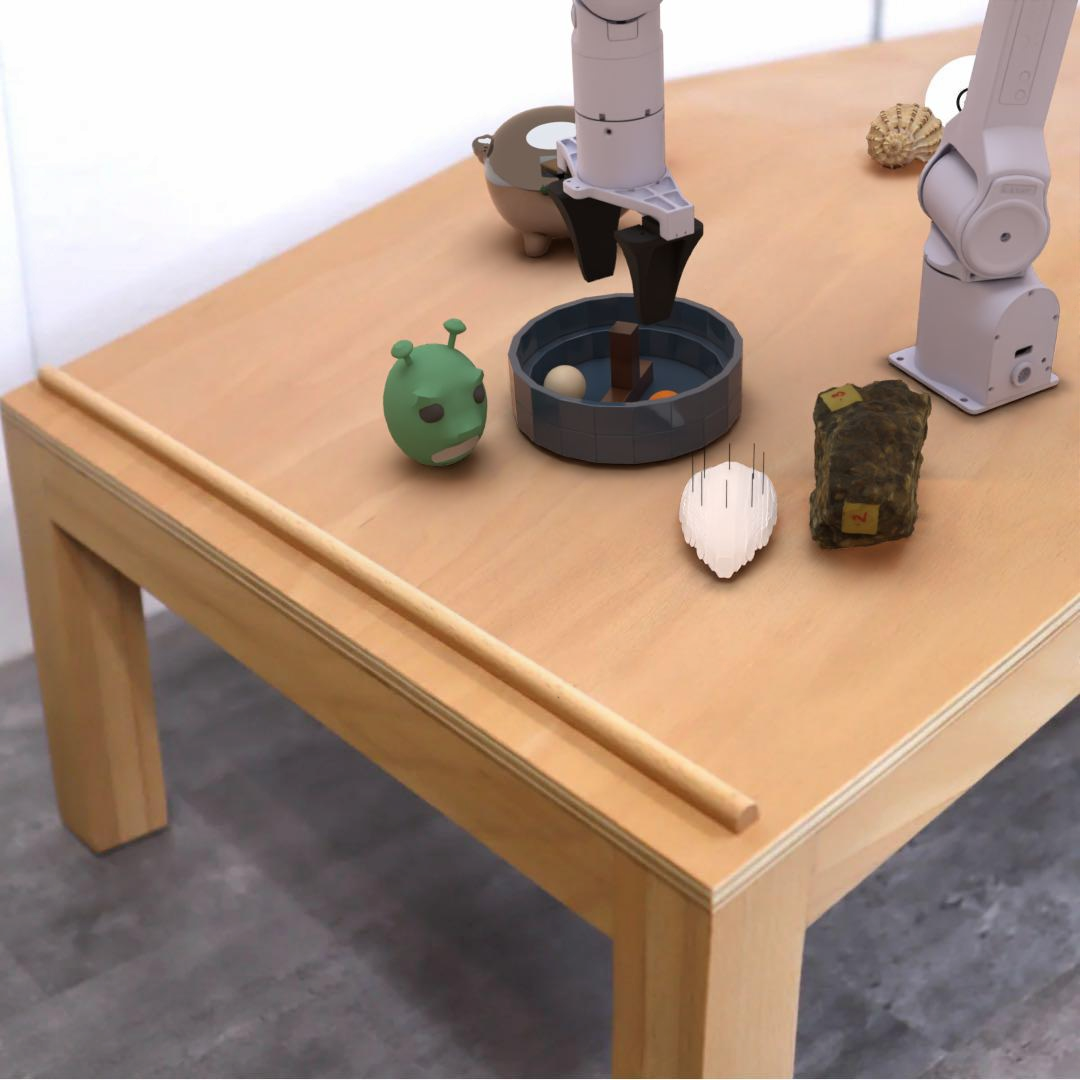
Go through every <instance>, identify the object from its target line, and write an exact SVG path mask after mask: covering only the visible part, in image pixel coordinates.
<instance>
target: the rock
mask: <svg viewBox="0 0 1080 1080" xmlns="http://www.w3.org/2000/svg"><path fill="white" fill-rule="evenodd" d="M932 409H933V400H932V397H931V395H930V394H929V393H918V392H916V391H912V390H911V389H910V387H909V385H908V384H907V383H906V382H905V381H904V380H903V379H883V380H874V381H873V382H871V383H868V384H866V385H864V386H862V387H861V386H858V385H856V384H855V383H851V382H850V383H848V382H847V383H846V384H844V385H841V386H836V387H835V386H832V387H829V388H828V389H826V390H824V391H820V392H819V393H818V394H817V396H816V399H815V403H814V407H813V412H812V420H813V424H814V426H815V428H814V441H813V442H814V443H813V451H814V461H813V462H814V463H813V470H814V478H815V479H814V480H815V483H814V485H815V488H814V489H813V490H812V492H811V493H810V495H809V500H808V501H809V502H808V503H809V511H808V517H809V523H808V525H809V528H810V537H811V540H812V541H814V542H815V543H816V544H817V547H819V549H820V550H821V551H832V550H844V549H850V548H851V549H852V548H868V547H872V546H877V545H881V544H883V543H886V542H897V541H900V540H902V539H908V538H910V537H912V536H913V533H914V531H915V530H916V529H915V526H914V525H915V524H916V522H917V520H918V515H919V514H918V511H919V507H920V505H919V504H918V500H917V497H918V493H917V491H918V486H919V485H918V484H919V479H920V477H921V476H920V475H921V468H922V464H923V463H924V461H925V460H924V459H925V458H924V455H923V453H922V450H923V447H924V445H925V441H927V436H928V431H929V425H928V424H929V423H928V422H929V421H928V419H929V417H930V416H931V414H932Z"/></svg>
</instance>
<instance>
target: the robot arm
mask: <svg viewBox="0 0 1080 1080" xmlns="http://www.w3.org/2000/svg"><path fill="white" fill-rule="evenodd" d="M663 1H664V0H572V5H571V9H570V20H571V24H572V27H573V30H572V33H571V37H570V46H571V47H570V48H571V66H572V85H573V104H574V105H573V106H574V107H575V123H576V136H572V137H568V138H565V139H561V140H557V141H556V147H557V164H558V167H559V168H560V169H562V170H563V171H567V175H566V174H565V175H564V179H561V180H557V181H554V182H551V183H550V184H549V185H548V186H547V192H548V194H549V196H550V197H551V199H552V200H553V202H554V203H555V205H556V206H557V208H558V210H559V212H560V214H561V216H562V218H563V220H564V222H565V224H566V227H567V229H568V232H569V234H570V237H571V238H570V240H571V243H572V246H573V251H574V253H575V257H576V260H577V263H578V266H579V269H580V272H581V275H582V277H583V280H584V281H585V282H587V283H588V284H589V283H593V282H596V281H600V280H603V279H606V278H609V277H613V276H614V274H615V269H616V265H617V254H618V246H619V248H620V250H621V252H622V254H623V256H624V259H625V262H626V265H627V268H628V271H629V275H630V280H631V285H632V293H633V294H634V302H635V308H636V312H637V316H638V319H639V322H640V323H642V324H643V325H644V326H647V325H650V324H654V323H657V322H660V321H663V320H666V319H669V318H670V316H671V312H672V309H673V305H674V301H675V297H677V292H678V289H679V285H680V283H681V279H682V276H683V273H684V270H685V268H686V265H687V263H688V261H689V259H690V257H691V255H692V254H693V251H694V250H695V248H696V246H697V245H698V243H699V242H700V241H701V239H702V238H703V236H704V233H705V231H704V230H705V229H704V228H705V227H704V226H705V225H704V222H702V221H701V220H699V219H698V218H697V217H695V205H694V204H693V203H692V202H690V201H688V199H686V197H685V196H684V194H683V192H682V191H681V189H680V187H679V184H678V183H677V182H676V180H675V177H674V176H673V174H672V172H671V169H670V168H669V165H667V164H666V125H665V124H666V112H665V111H666V110H665V109H666V107H665V106H666V105H665V65H664V64H665V63H664V62H665V61H664V58H665V57H664V56H665V55H664V32H663V29H662V28H661V4H662V2H663ZM1078 1H1079V0H988V2H987V5H986V6H987V7H986V11H985V16H984V19H983V23H982V27H981V31H980V37H979V41H978V44H977V48H976V53H975V57H974V60H973V65H972V70H971V74H970V78H969V83H968V87H967V91H966V95H965V99H964V104H963V108H962V109H961V110H960V111H959V112H958V113H957V114H956V115H954V116H953V117H952V118H951V119H950V120H948V121H947V122H946V124H945V125H944V126H943V127H944V132H943V136H942V139H941V143H940V145H939V147H938V149H937V151H936V152H935V154H934V155H933V156H932V158H931V159H930V160H929V161H928V163H925V165H924V167H923V169H922V171H921V173H920V175H919V178H918V182H917V192H916V193H917V200H918V203H919V206H920V208H921V210H922V212H923V213H924V215H926V216H927V217H928V218H929V219H930V229H929V234H928V236H927V237H926V240H925V242H924V245H923V255H922V268H921V280H920V290H919V291H920V292H919V303H918V314H917V326H916V336H915V337H916V338H915V345H913V346H909V347H907V348H904V349H901V350H898V351H895V352H893V353H890V354H889V355H888V362H889V363H890V364H892V365H893V366H895V367H896V368H898V369H900V370H901V371H903V372H904V373H906V374H907V375H909V376H910V377H912V378H913V379H915V380H916V381H918V382H919V383H921V384H923V385H924V386H926V387H927V388H929V389H930V390H932V391H934V392H935V393H937V394H938V395H939V396H941V397H943V398H944V399H946V400H947V401H949V402H951V403H952V404H954V405H955V406H956V407H958V408H960V409H961V410H963V411H964V412H966V413H968V414H970V415H979V414H981V413H984V412H986V411H989V410H992V409H995V408H997V407H999V406H1000V407H1001V406H1002V405H1006V404H1008V403H1011V402H1014V401H1016V400H1019V399H1021V398H1024V397H1027V396H1029V395H1032V394H1035V393H1037V392H1040V391H1044V390H1046V389H1048V388H1051V387H1055V386H1056V385H1058V384H1059V382H1060V378H1059V376H1058V375H1057V374H1055V373H1053V372H1052V371H1053V364H1054V358H1055V350H1056V344H1057V336H1058V329H1059V322H1060V315H1061V308H1060V307H1061V306H1060V305H1061V304H1060V301H1059V299H1058V297H1057V294H1056V293H1055V292H1054V291H1053V290H1052V289H1051V288H1050V287H1049V286H1048V285H1046V284H1045V283H1044V282H1043V281H1042V280H1041V278H1040V277H1039V276H1038V274H1037V272H1036V271H1035V269H1034V268H1035V267H1034V266H1033V263H1034V262H1035V261H1036V260H1037V259H1038V258H1039V257H1040V255H1041V254H1042V252H1043V250H1044V249H1045V248H1046V245H1047V243H1048V241H1049V237H1050V234H1051V227H1052V226H1051V225H1052V224H1051V217H1050V213H1049V208H1048V200H1047V199H1048V193H1049V192H1048V191H1049V186H1050V183H1051V179H1052V171H1051V165H1050V159H1049V155H1048V150H1047V149H1048V148H1047V145H1046V139H1045V132H1044V128H1045V124H1046V121H1047V117H1048V114H1049V109H1050V106H1051V102H1052V99H1053V95H1054V92H1055V88H1056V85H1057V81H1058V77H1059V73H1060V69H1061V65H1062V62H1063V58H1064V55H1065V52H1066V51H1065V50H1066V48H1067V43H1068V40H1069V35H1070V32H1071V28H1072V25H1073V21H1074V18H1075V14H1076V9H1077V6H1078ZM622 207H624V208H627V209H630V210H629V211H634V212H636V213H638V214H640V215H641V224H640V223H638V224H635V225H631V226H628V227H624V228H620V229H619V224H620V219H621V218H620V213H621V208H622ZM619 218H620V219H619Z"/></svg>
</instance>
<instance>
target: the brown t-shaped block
mask: <svg viewBox="0 0 1080 1080" xmlns="http://www.w3.org/2000/svg"><path fill="white" fill-rule="evenodd" d="M609 341H610V367H611V386H612V387H611V388H610V389H609V391H608V392H607V393H606V395H605V396H604V397H603V399H602V400H601V401H600V402H631V403H632V402H638V401H639V400H640V398H641V397H642V395H643V394H644V393H645V391H646V390H647V388H648V387H649V386H650V384H651V383H652V381H653V361H647V360H641V359H639V324H635V323H628V322H622V321H617V322H616V323H615V324H614V326H613V327H612V328H611V329H610V331H609Z"/></svg>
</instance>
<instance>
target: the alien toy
mask: <svg viewBox="0 0 1080 1080" xmlns="http://www.w3.org/2000/svg"><path fill="white" fill-rule="evenodd" d="M442 326H443V328H444V329H445V330H446V332H447V333H449V335H448V341H447V344H444V343H426V344H420V345H416V346H414V343H413V342H412V341H411V340H408V339H401V340H399V341H397V342H395V343H394V344H393V345H392V347H391V349H390V355H391V356H392V358H394V359H396V361H395V362H394V364H393V365H392V367H391V368H390V370H389V372H388V374H387V377H386V380H385V384H384V389H383V394H382V396H383V397H382V409H383V416H384V420H385V423H386V425H387V429H388V432H389V434H390V436H391V438H392V440H393V441H394V443H395V444H396V446H397V447H398V448H399V449H400V450H401V451H402V452H403V454H405V455H406V456H407V457H408V458H410V459H412V460H413V461H415V462H417V463H418V464H422V465H424V466H425V465H426V466H429V467H445V466H450V465H452V464H455V463H458V462H460V461H461V460H463V459H464V458H466V457H467V456H468V455H470V453H471V452H473V451H474V449H475V447H476V446H477V445H478V443H479V441H480V440H481V438H482V436H483V434H484V432H485V429H486V424H487V417H488V395H487V390H486V387H485V384H484V378H485V373H484V371H483V369H482V368H478V367H476V364H474V362H473V361H472V360H471V359H470V358H469V357H468V356H467V355H465V354H464V352H462V351H460V350H459V349H457V348H455V345H456V340H457V336H458V335H460V334H463V333H465V332H466V330H467V326H466V324H465V323H464V322H463V320H461V319H459V318H449V319H447V320H445V321H444V322H443V324H442Z"/></svg>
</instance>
